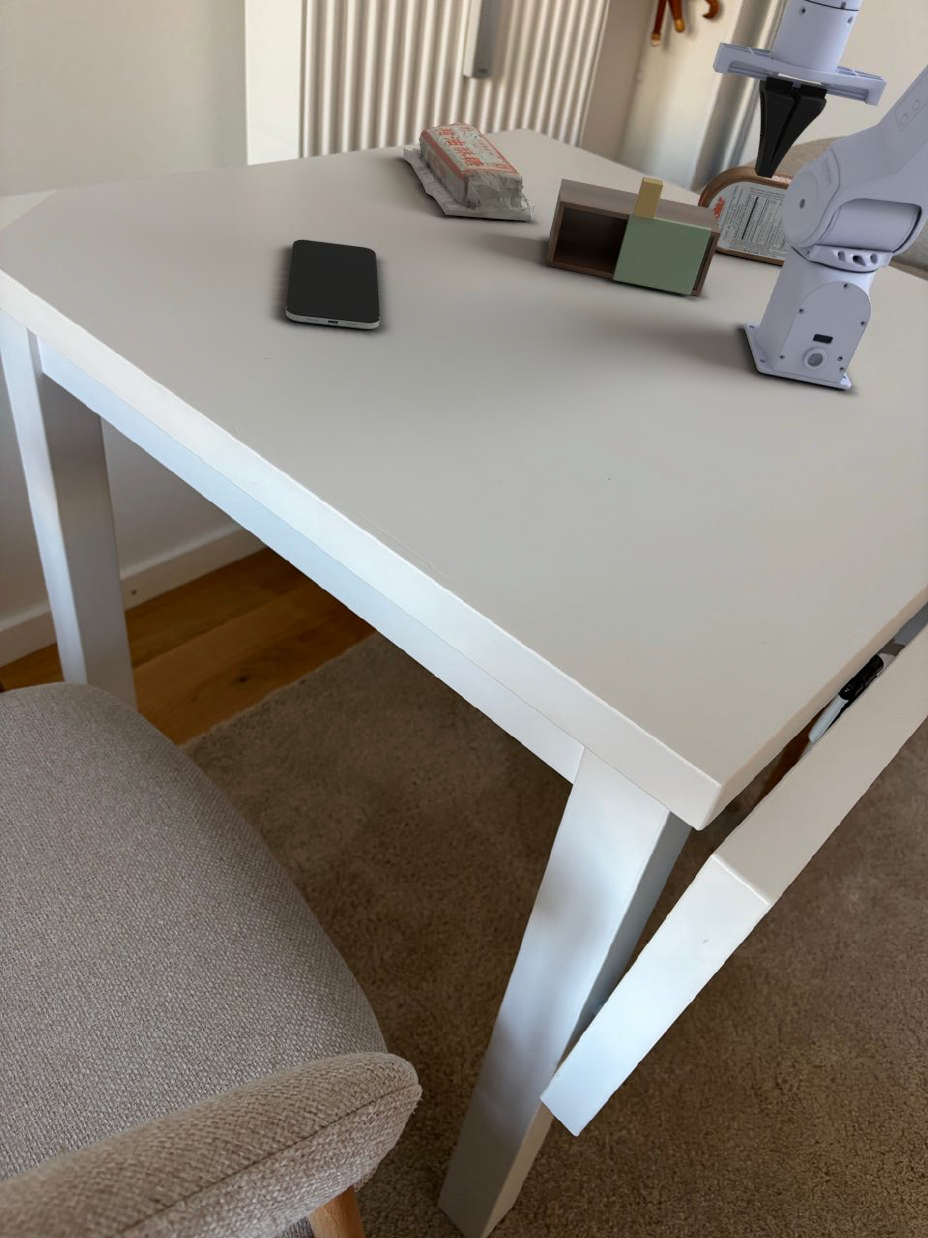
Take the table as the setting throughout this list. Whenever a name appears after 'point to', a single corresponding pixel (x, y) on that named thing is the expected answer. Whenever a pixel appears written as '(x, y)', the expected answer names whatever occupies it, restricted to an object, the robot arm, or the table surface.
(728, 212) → the tin
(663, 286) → the sliding door
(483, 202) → the packaged product
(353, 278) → the smartphone
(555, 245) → the cupboard
